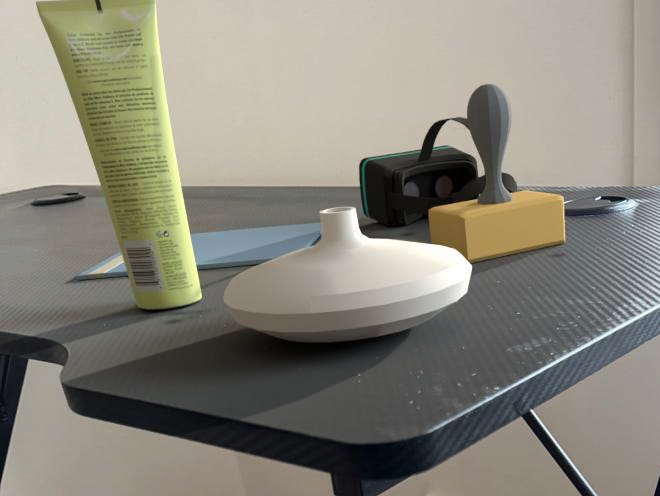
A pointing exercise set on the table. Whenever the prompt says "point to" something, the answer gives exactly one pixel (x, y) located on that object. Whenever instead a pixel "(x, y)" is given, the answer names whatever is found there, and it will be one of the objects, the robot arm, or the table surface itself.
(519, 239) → the rubber stamp
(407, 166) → the virtual reality headset
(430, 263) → the vase
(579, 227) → the table surface
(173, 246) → the tube
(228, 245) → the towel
